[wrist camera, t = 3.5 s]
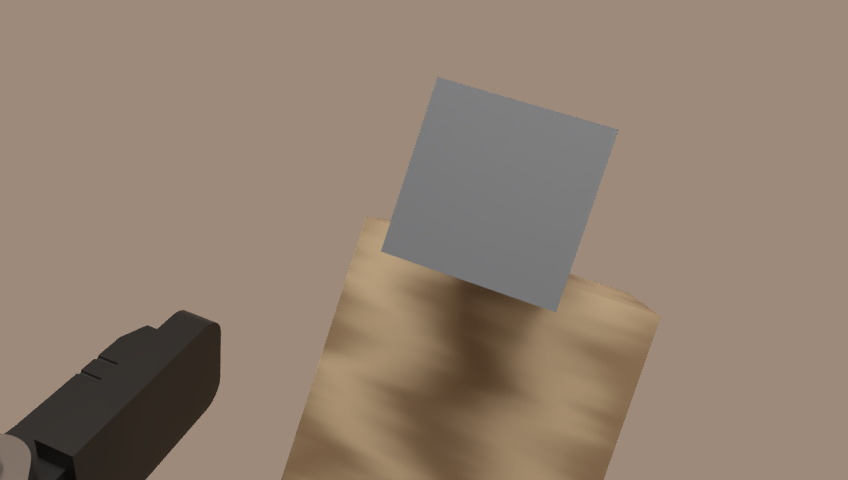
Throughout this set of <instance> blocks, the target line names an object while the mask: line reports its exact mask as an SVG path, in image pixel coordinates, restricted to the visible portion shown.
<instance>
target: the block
mask: <svg viewBox="0 0 848 480" xmlns="http://www.w3.org/2000/svg"><path fill="white" fill-rule="evenodd" d="M617 132H618V130H617V129H614V128H611V127H607V126H603V125H600V124H597V123H593V122H590V121H586V120H583V119H580V118H576V117H573V116H569V115H566V114H562V113H559V112H555V111H552V110H548V109H545V108H542V107H538V106H535V105H531V104H528V103H525V102H521V101H518V100H514V99H511V98H507V97H504V96H501V95H497V94H493V93H490V92H487V91H483V90H480V89H476V88H473V87H470V86H466V85H463V84H459V83H456V82H452V81H449V80H445V79H442V78H439V77H437V80H436V83H435V86H434V89H433V92H432V95H431V99H430V102H429V105H428V108H427V111H426V114H425V117H424V120H423V123H422V126H421V129H420V133H419V136H418V139H417V142H416V145H415V148H414V151H413V154H412V157H411V160H410V163H409V166H408V170H407V173H406V176H405V179H404V182H403V185H402V188H401V191H400V194H399V197H398V200H397V203H396V206H395V210H394V213H393V216H392V219H391V222H390V225H389V228H388V231H387V234H386V237H385V240H384V243H383V246H382V250H381V252H384V253H387V254H389V255H392V256H395V257H398V258H401V259H404V260H407V261H410V262H412V263H415V264H418V265H421V266H424V267H427V268H430V269H433V270H435V271H438V272H441V273H444V274H447V275H450V276H453V277H456V278H458V279H461V280H464V281H467V282H470V283H473V284H476V285H479V286H481V287H484V288H487V289H490V290H493V291H496V292H499V293H502V294H504V295H507V296H510V297H513V298H516V299H519V300H522V301H525V302H527V303H530V304H533V305H536V306H539V307H542V308H545V309H548V310H550V311H553V312H556V311H557V308H558V305H559V302H560V299H561V296H562V293H563V290H564V287H565V285H566V282H567V279H568V276H569V273H570V270H571V267H572V264H573V261H574V258H575V255H576V252H577V249H578V246H579V243H580V240H581V238H582V235H583V232H584V229H585V226H586V223H587V220H588V217H589V214H590V211H591V208H592V206H593V203H594V200H595V197H596V194H597V191H598V188H599V185H600V182H601V179H602V176H603V173H604V170H605V168H606V165H607V162H608V159H609V156H610V153H611V150H612V147H613V144H614V141H615V138H616V135H617Z"/></svg>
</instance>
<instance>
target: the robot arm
mask: <svg viewBox="0 0 848 480" xmlns="http://www.w3.org/2000/svg"><path fill="white" fill-rule="evenodd" d="M220 330H221V329H220V326H219V324H218V323H215V322H213V321H210V320H208V319H205V318H203V317H200V316H198V315H195V314H193V313H190V312H187V311H185V310H182V311H178V312H177V313H175V314H174V315H173V316H172V317H170V318H169V319H168V320H167V321H166V322H165V323H164V324H163V325H161V326H160V327H159V328H158V329H155V328H153V327H150V326H145V327H142V328H140V329H138V330H136V331H133V332H131V333H129V334H126V335H124V336H122V337H120V338H118V339H117V340H116V341H115V342H114V343H113V344H112V345H110V346H109V347H108V348H107V349H105V350H104V351H103V352H102V353H101V354H100V355H99V356H98V358H97V359H94V360H92V361H91V362H90V363H89V364H88V365H87V366H85V367H84V368H83V369H82V370H81V373H80V374H76V375H75V376H74V377H72V378H71V379H70V380H69V381H68V382H66V383H65V384H64V385H63V386H62V387H61V388H59V389H58V390H57V391H56V392H55V393H54V394H53V395H51V396H50V397H49V398H48V399H46V400H45V401H44V402H43V403H42V404H40V405H39V406H38V407H37V408H36V409H35V410H33V411H32V412H31V413H30V414H29V415H28V416H27V417H25V418H24V419H23V420H22V421H20V422H19V423H18V424H17V425H16V426H15V427H13V428H12V429H11V430H9V431H8V432H7V433H5V434H0V480H145V479H146V478H147V477H148V476H149V475H150V474H151V473H152V472H153V470H154V469H155V468H156V467H157V466H158V465H159V464H160V462H161V461H162V460H163V459H164V457H166V455H167V454H168V453H169V452H170V451H171V450H172V448H173V447H174V446H175V445H176V444H177V443H178V442H179V440H180V439H181V438H182V437H183V436H184V435H185V434H186V433H187V431H188V430H189V429H190V428H191V427H192V425H194V423H195V422H196V421H197V420H198V419H199V418H200V416H201V415H202V414H203V413H204V412H205V411H206V410H207V408H208V407H209V406H210V404H211V402H212V401H213V399H214V397H215V395H216V392H217V390H218V386H219V382H220V346H221V344H220V343H221V331H220Z"/></svg>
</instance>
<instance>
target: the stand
mask: <svg viewBox="0 0 848 480" xmlns="http://www.w3.org/2000/svg"><path fill="white" fill-rule="evenodd" d="M390 222H391V220H386V219H379V218H373V217H366V219H365V222H364V225H363V228H362V231H361V234H360V237H359V241H358V244H357V247H356V250H355V253H354V256H353V259H352V262H351V265H350V268H349V271H348V275H347V278H346V281H345V284H344V287H343V290H342V293H341V296H340V300H339V303H338V306H337V309H336V312H335V315H334V318H333V321H332V325H331V327H330V331H329V334H328V337H327V340H326V343H325V346H324V349H323V352H322V355H321V358H320V361H319V365H318V368H317V371H316V374H315V377H314V380H313V383H312V386H311V390H310V392H309V396H308V399H307V402H306V405H305V408H304V411H303V414H302V417H301V421H300V423H299V427H298V430H297V433H296V436H295V439H294V442H293V446H292V448H291V451H290V455H289V458H288V461H287V464H286V467H285V470H284V473H283V476H282V479H281V480H603V479H604V477H605V474H606V471H607V468H608V465H609V462H610V460H611V457H612V454H613V451H614V448H615V445H616V442H617V440H618V437H619V434H620V431H621V428H622V425H623V423H624V420H625V417H626V414H627V411H628V408H629V405H630V403H631V400H632V397H633V394H634V391H635V388H636V386H637V383H638V380H639V377H640V374H641V371H642V369H643V366H644V363H645V360H646V357H647V354H648V351H649V348H650V345H651V343H652V340H653V337H654V334H655V331H656V329H657V326H658V323H659V320H660V317H661V316H659V315H658V314H657V313H655V312H654V311H652V310H651V309H650V308H648V307H647V306H645V305H644V304H643V303H641V302H640V301H638V300H637V299H636V298H634V297H633V296H631V295H630V294H628V293H626V292H623V291H620V290H617V289H614V288H611V287H608V286H605V285H602V284H599V283H596V282H593V281H590V280H587V279H584V278H581V277H578V276H575V275H572V274H569V276H568V279H567V282H566V285H565V287H564V290H563V293H562V296H561V299H560V302H559V305H558V308H557V311H556V312H553V311H550V310H548V309H545V308H542V307H539V306H536V305H533V304H530V303H527V302H525V301H522V300H519V299H516V298H513V297H510V296H507V295H504V294H502V293H499V292H496V291H493V290H490V289H487V288H484V287H481V286H479V285H476V284H473V283H470V282H467V281H464V280H461V279H458V278H456V277H453V276H450V275H447V274H444V273H441V272H438V271H435V270H433V269H430V268H427V267H424V266H421V265H418V264H415V263H412V262H410V261H407V260H404V259H401V258H398V257H395V256H392V255H389V254H387V253H384V252H381V250H382V246H383V243H384V240H385V237H386V234H387V231H388V228H389V225H390Z"/></svg>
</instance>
